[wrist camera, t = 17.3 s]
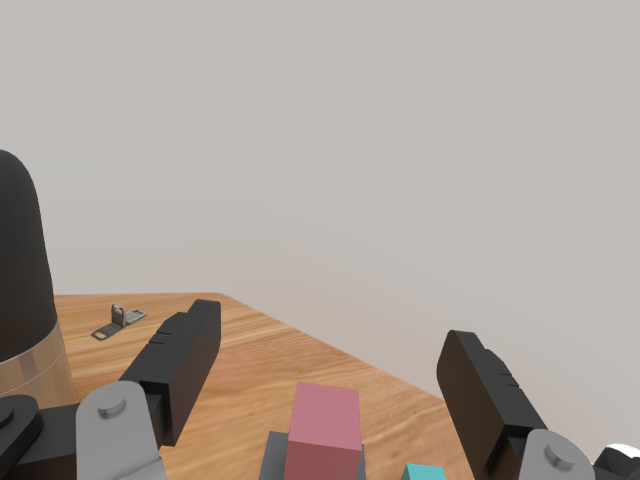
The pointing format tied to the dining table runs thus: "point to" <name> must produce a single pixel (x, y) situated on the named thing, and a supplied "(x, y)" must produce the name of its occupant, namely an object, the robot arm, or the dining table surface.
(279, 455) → the mat
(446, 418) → the dining table surface
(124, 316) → the strap clip
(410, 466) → the block
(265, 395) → the dining table surface
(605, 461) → the medicine bottle
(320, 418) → the tall pink pillar
